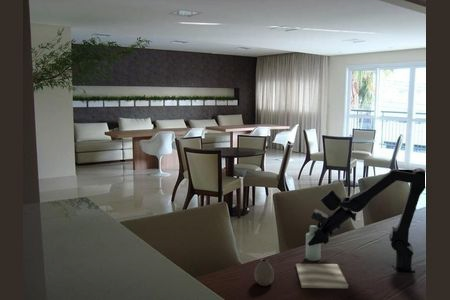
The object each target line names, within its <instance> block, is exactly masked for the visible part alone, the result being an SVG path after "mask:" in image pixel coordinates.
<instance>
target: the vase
mask: <svg viewBox="0 0 450 300" xmlns="http://www.w3.org/2000/svg"><path fill="white" fill-rule="evenodd" d="M274 278H275V272H274V269H273V267H272V265H271V264H270V263H269V261H268V259H266V258H262V259H260V261H259V263H257V265H256V267H255V269H254V279H255V281H256V283H257V284H258V285H259V286H261V287H262V286H263V287H267V286H269V285H271V284H272V283H273V281H274Z"/></svg>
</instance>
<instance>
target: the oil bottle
mask: <svg viewBox="0 0 450 300" xmlns="http://www.w3.org/2000/svg"><path fill="white" fill-rule="evenodd" d="M317 228H318V225H314V224H313V225H309V232H306V233H305V259H307V260H308V261H312V262H313V261H314V262H316V261H320V260H321V257H322V255H321V254H322V253H321V249H322V247H321V245H322V243H320V244H315V245H311V246H309V245H308V243H309V241H310V240H311V239H312V238H313V237H314V235H315V233H314V231H315V229H317Z"/></svg>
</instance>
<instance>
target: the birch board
mask: <svg viewBox="0 0 450 300" xmlns="http://www.w3.org/2000/svg"><path fill="white" fill-rule="evenodd" d="M295 266H296V272H297V276H298V278H299V279H298V280H299V282H300V287H301V288H302V289H349V284H348V282H347V280H346V278H345V276H344V274H343V273H342V270H341V268H340V266H339V265H338V264H337V263H295Z"/></svg>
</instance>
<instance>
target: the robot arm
mask: <svg viewBox="0 0 450 300" xmlns="http://www.w3.org/2000/svg"><path fill="white" fill-rule="evenodd" d="M425 171H426V170H425V169H423V168H421V167H417V168H415V169H405V168H404V169H398V168H392V169H391V170H389V172H387V173H386V174H385V175H383V176H382V177H380V178H379V179H378V180H377V181H375V182H373V184H371V185H370V186H368V187H367V188H366V189H364V190H362V191H359V192H356V193H355V194H352V195H351V196H350V197H349V196H348V197H340V196H339V195H338V193H336V191H335V190H334V189H330V191H328V192H327V193H325V194H324V195H323V196H322V197H321V198H320V199H319V201H320V202H321V203H322V205H323V206H324V207H326V209H328V211H331V212H332V211H334V212H333V213H328V214H327V213H325V212H323V211H321V210H319V209H317V208H314V210H313V212H312V214H311V217H310V218H311V219H312V220H314V221H316V222H318V223H317V229H315V231H314V233H315V235H314V237H313V238H312V239H311V240H310V241H309V243H308V245H309V246H311V245H315V244H320V243H321V244H324V245H327V244H328V243H329V242H330V240H331V239H330V238H331V236H332V235H333V234H334V232H335V231H337V229H341V227H342V225H344V224H345V223H346V222H348V220H350V219H351V220H352V221H354V222H356V220H357V213H359V212H361V211H363V210H364V208H365V207H366V206H367V205H368V204H369V202H370V201H371V200H372V199H373V198H374V197H376V196H377V195H378V194H380V193H381V192H383V191H384V190H386V189H387V188H388V187H390V186H391V185H393V184H394V183H395V182H397V181H398V182H403V183H409V186H408V187H409V189H408V190H409V191H408V192H407V193H408V194H407V197H406V200H405V204H404V205H403V208H402V211H401V215H400V219H399V221H398V224H397V226H396V227H394V226H391V232H390V234H389V235H388V236H389V242H390V246H391V249H393V251H395V263H392V267H393V268H394V269H395V270H396V271H397V272H400V273H401V272H404V273H405V272H408V273H413V272H415V273H416V270H415V268H414V267H413V266H412V265H413V256H414V250H413V246H412V244H411V243H410V242H409V236H410V235H409V233H410V227H411V223H412V221H413V218H414V214H415V212H416V209H417V205H418V203H419V201H420V200H419V199H420V196H421V195H422V193H423V192H424V191H425V189H426V187H425Z"/></svg>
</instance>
